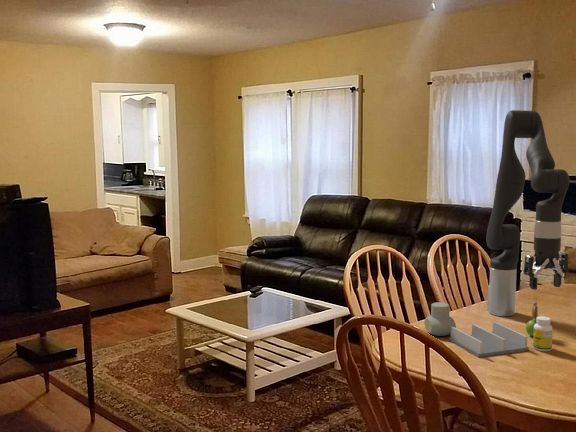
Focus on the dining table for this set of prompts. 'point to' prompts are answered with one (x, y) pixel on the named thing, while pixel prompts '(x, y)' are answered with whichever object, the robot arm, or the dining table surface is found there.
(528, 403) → the dining table surface
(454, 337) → the gray divided storage rack
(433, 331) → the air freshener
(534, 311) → the snail figurine
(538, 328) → the supplement bottle
